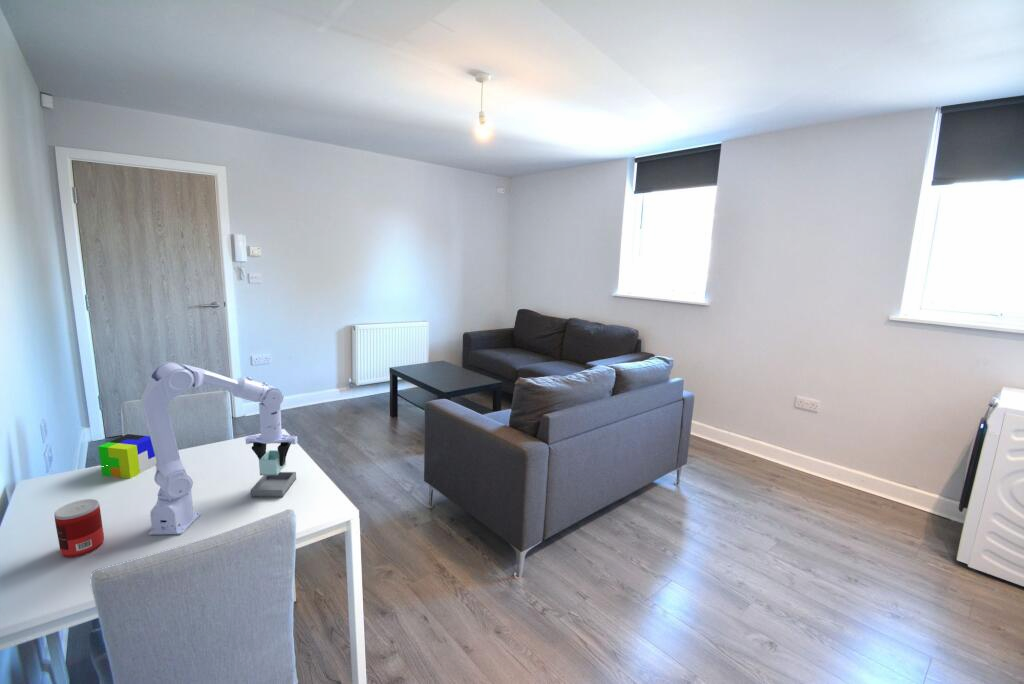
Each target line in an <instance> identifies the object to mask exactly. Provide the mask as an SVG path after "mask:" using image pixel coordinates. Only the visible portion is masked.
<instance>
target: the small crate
mask: <svg viewBox="0 0 1024 684" xmlns="http://www.w3.org/2000/svg"><path fill="white" fill-rule="evenodd" d="M286 465H287V459H286V460H285V464H284V465H283V466H280V457H279V452H278V449H269V450H266V454H265V455H264V456H263V457H262V458H261V459H260V460H259V459H258V466H259V476H263V475H278V474H279V472H282V470H283V469H284V468H285V466H286Z"/></svg>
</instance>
